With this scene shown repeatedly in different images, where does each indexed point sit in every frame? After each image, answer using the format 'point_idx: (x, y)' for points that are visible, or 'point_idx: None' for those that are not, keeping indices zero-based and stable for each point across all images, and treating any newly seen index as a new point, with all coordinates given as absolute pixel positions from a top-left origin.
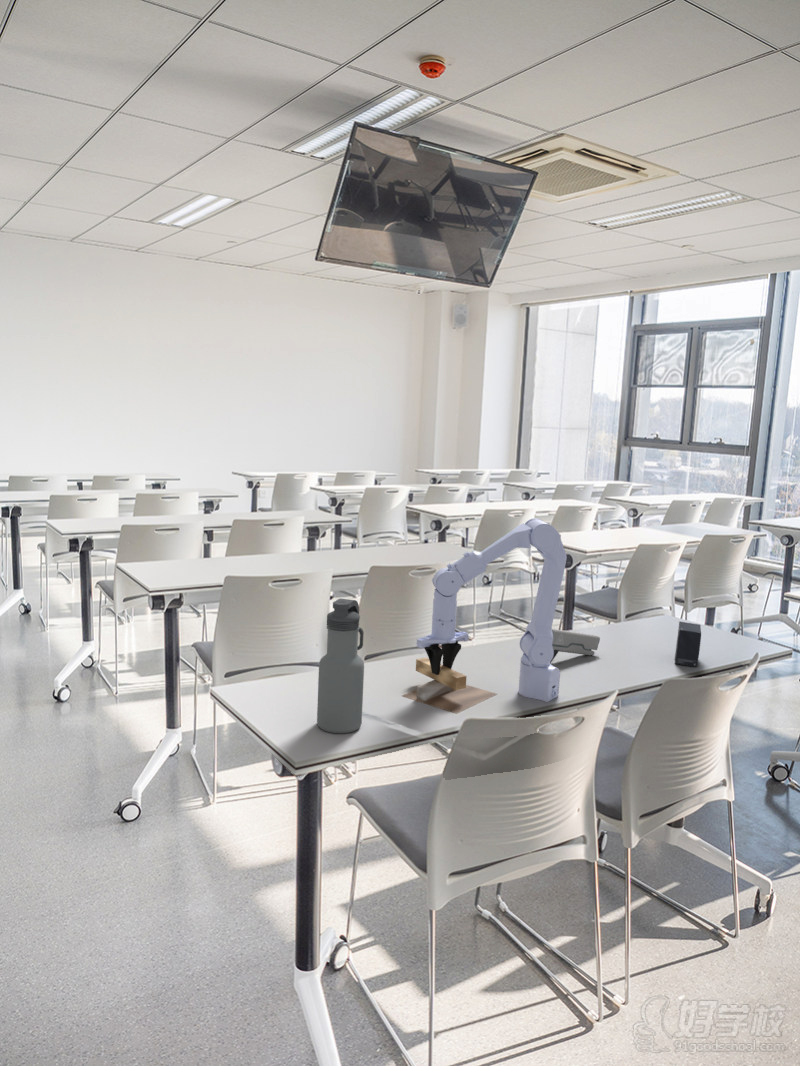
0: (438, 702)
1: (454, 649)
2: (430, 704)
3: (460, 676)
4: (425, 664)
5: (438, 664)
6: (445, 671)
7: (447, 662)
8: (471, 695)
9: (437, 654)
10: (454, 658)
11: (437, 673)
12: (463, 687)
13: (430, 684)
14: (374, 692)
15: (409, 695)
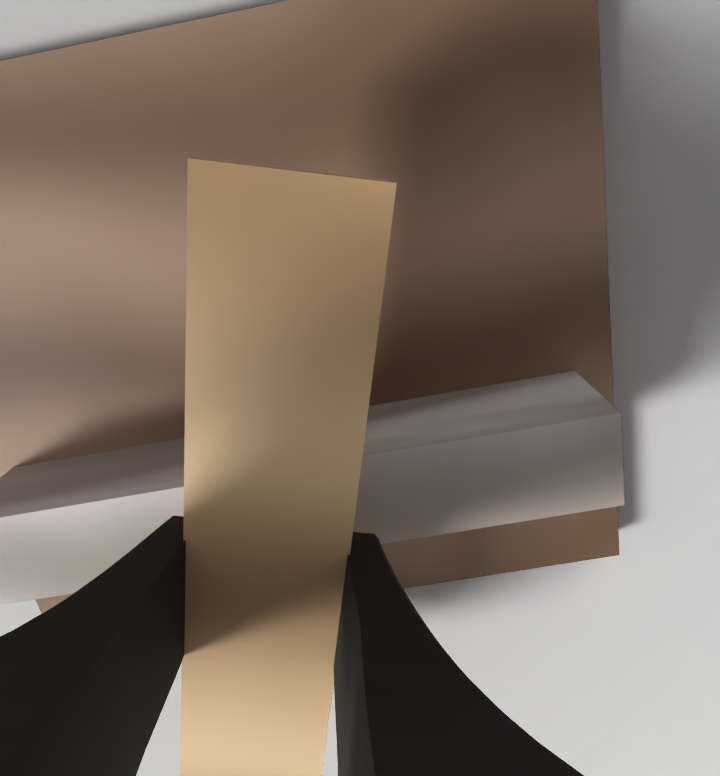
0: (498, 281)
1: (19, 745)
2: (595, 286)
3: (294, 198)
4: (322, 767)
5: (398, 607)
6: (324, 482)
7: (158, 631)
8: (99, 230)
9: (523, 746)
10: (56, 613)
11: (374, 540)
12: (265, 165)
13: (468, 479)
14: (631, 710)
15: (566, 526)
